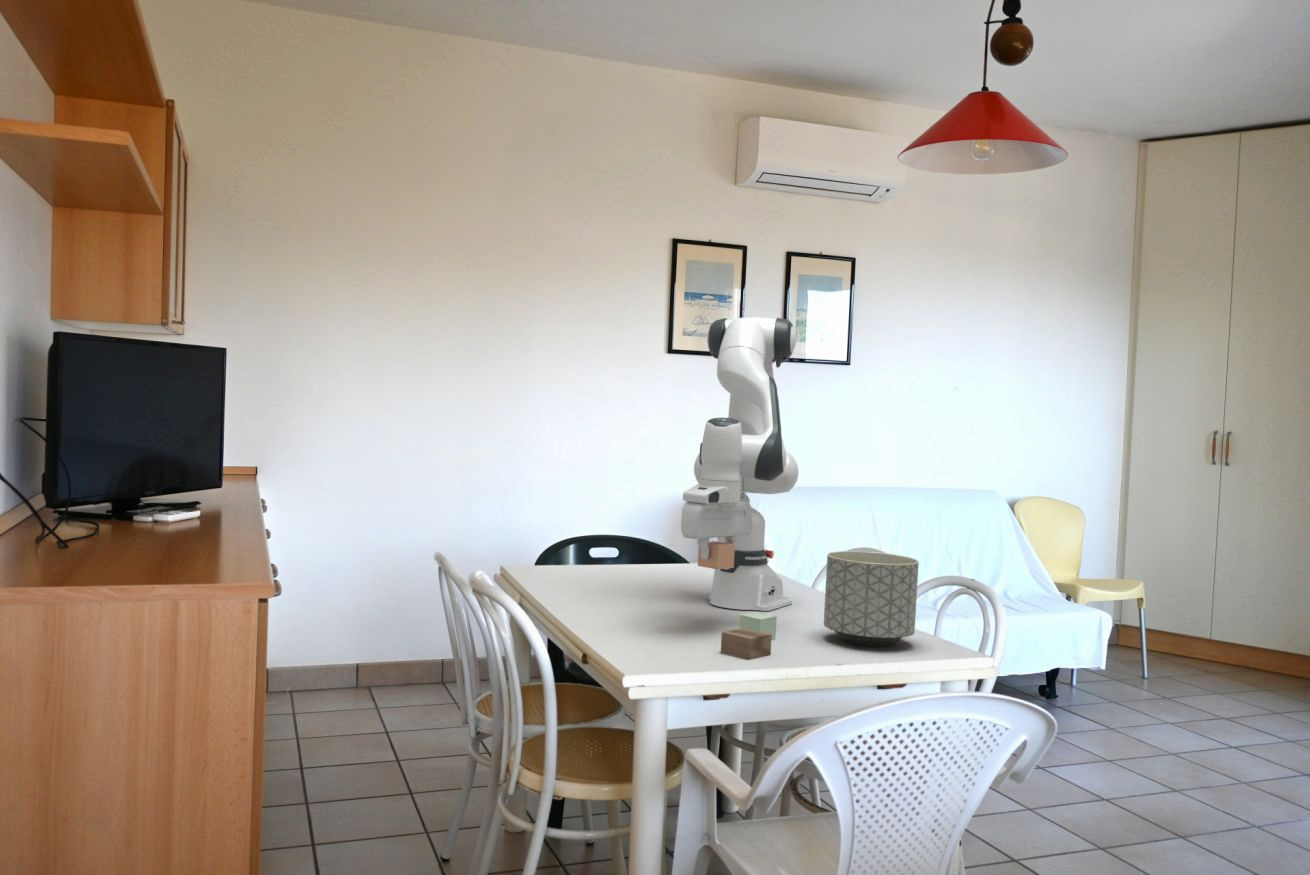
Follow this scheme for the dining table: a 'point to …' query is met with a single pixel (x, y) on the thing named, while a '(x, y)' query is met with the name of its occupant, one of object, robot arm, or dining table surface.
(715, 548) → the terracotta block
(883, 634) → the planter
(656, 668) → the dining table surface
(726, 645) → the walnut base
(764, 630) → the sage block
